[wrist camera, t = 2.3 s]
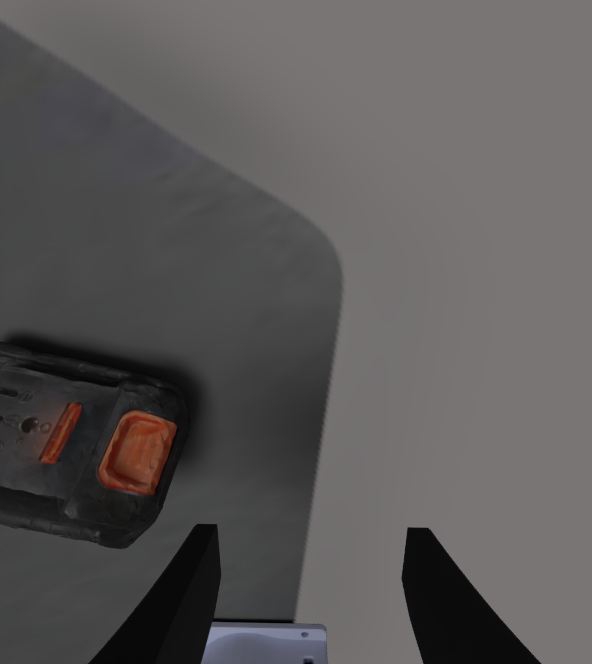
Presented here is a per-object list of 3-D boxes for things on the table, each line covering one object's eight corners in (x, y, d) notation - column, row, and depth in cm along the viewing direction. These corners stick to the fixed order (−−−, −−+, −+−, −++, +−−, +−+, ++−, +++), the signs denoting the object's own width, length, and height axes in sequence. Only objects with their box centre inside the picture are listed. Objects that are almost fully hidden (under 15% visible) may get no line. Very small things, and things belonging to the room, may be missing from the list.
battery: (210, 425, 22) (203, 372, 17) (143, 580, 17) (100, 578, 12) (33, 369, 23) (-32, 298, 17) (-80, 504, 18) (-225, 467, 12)
